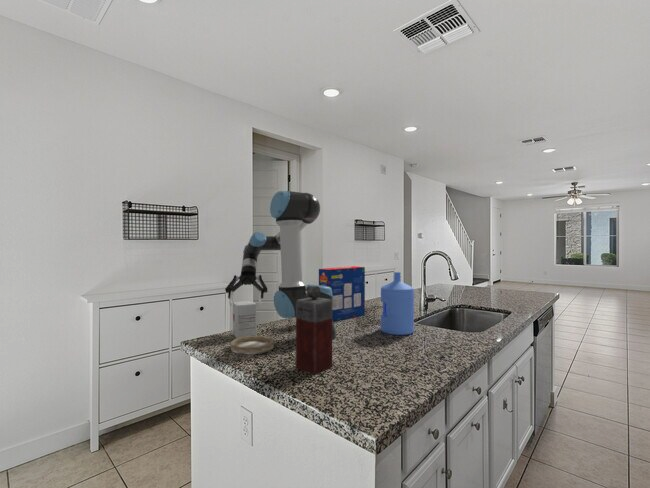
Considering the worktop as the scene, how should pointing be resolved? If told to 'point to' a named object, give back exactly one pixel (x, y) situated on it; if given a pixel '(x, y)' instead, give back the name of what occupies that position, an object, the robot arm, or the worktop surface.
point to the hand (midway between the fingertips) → (245, 303)
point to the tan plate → (252, 344)
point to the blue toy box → (345, 291)
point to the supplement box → (244, 319)
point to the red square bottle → (314, 332)
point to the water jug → (397, 307)
